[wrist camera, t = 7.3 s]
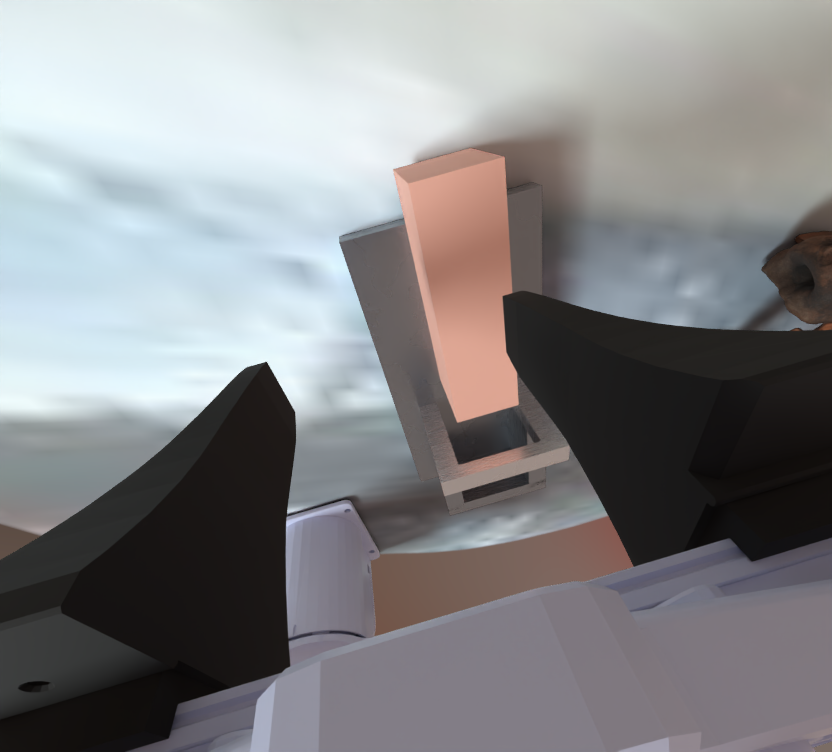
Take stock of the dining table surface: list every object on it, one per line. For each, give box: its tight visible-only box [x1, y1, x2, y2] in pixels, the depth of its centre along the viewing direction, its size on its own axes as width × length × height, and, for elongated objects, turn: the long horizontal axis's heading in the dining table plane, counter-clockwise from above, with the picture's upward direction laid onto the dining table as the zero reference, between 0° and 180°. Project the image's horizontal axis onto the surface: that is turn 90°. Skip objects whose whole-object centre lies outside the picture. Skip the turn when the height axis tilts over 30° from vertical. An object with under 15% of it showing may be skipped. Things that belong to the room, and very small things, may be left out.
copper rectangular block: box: [393, 148, 519, 423], centre depth 18 cm, size 12×4×4 cm, turn 13°
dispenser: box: [339, 183, 570, 516], centre depth 21 cm, size 19×10×7 cm, turn 12°
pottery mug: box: [762, 231, 832, 331], centre depth 23 cm, size 12×10×8 cm
